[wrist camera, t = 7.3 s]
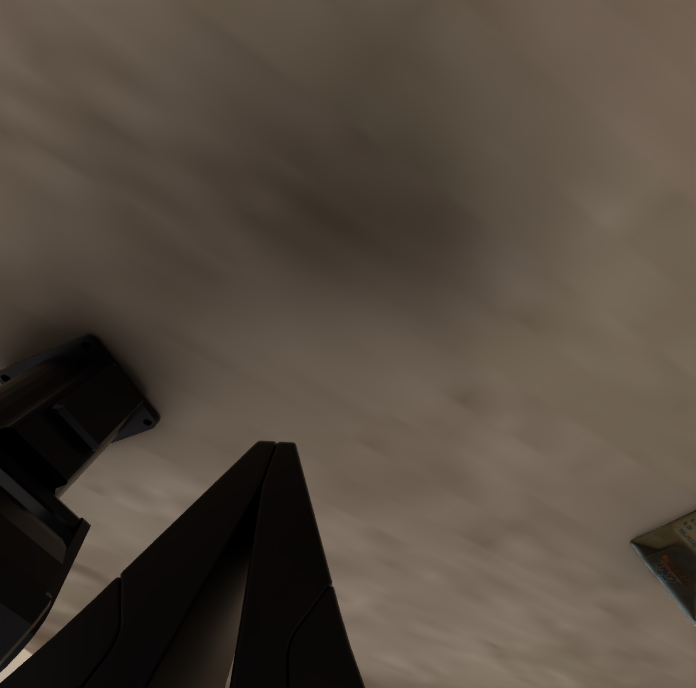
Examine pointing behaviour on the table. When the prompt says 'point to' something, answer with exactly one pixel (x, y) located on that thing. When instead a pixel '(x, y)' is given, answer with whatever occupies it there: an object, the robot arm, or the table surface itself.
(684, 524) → the beverage carton
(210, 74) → the table surface
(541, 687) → the table surface
